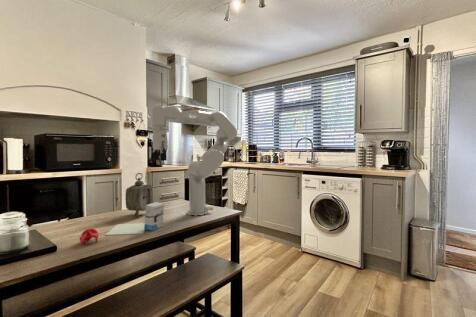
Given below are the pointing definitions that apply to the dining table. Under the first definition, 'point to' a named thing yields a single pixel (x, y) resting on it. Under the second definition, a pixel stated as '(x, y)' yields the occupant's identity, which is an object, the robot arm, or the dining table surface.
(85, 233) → the red hair claw clip
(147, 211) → the ink box
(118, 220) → the dining table surface
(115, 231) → the mat
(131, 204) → the tabletop clock
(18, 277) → the dining table surface
